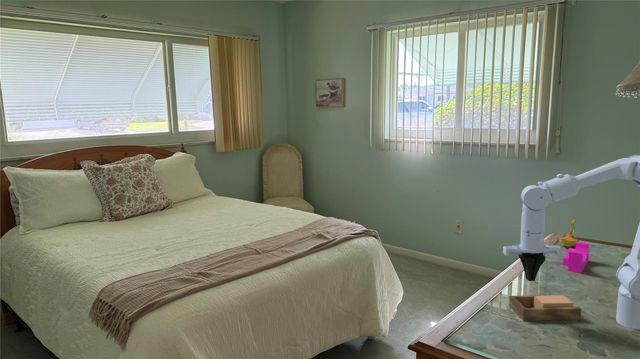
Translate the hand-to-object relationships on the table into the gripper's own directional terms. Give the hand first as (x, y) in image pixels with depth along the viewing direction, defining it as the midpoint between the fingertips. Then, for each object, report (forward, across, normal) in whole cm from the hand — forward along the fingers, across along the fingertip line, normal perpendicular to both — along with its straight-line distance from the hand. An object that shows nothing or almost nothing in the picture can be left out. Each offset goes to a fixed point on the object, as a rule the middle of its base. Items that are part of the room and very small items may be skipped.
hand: (530, 279), depth 120 cm
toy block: (+10, -32, -35) cm, 49 cm away
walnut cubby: (+9, -4, 0) cm, 10 cm away
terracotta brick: (+10, -6, 0) cm, 12 cm away
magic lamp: (+10, -39, -53) cm, 66 cm away
